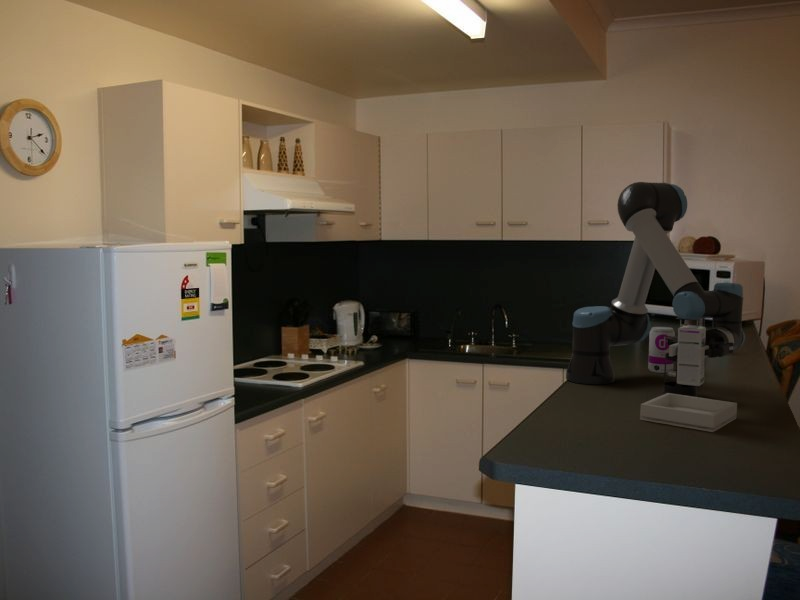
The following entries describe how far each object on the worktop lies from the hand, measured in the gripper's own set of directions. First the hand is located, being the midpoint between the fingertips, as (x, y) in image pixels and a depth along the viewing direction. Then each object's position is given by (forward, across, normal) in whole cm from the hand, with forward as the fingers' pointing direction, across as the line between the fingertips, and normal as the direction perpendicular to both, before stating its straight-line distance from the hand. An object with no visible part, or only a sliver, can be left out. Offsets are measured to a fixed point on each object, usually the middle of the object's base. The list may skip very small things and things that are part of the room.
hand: (684, 352), depth 186 cm
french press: (-32, +12, -18) cm, 39 cm away
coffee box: (-113, +37, -18) cm, 120 cm away
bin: (-5, 0, -18) cm, 19 cm away
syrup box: (-5, 0, -9) cm, 10 cm away
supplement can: (-66, +31, -18) cm, 75 cm away
